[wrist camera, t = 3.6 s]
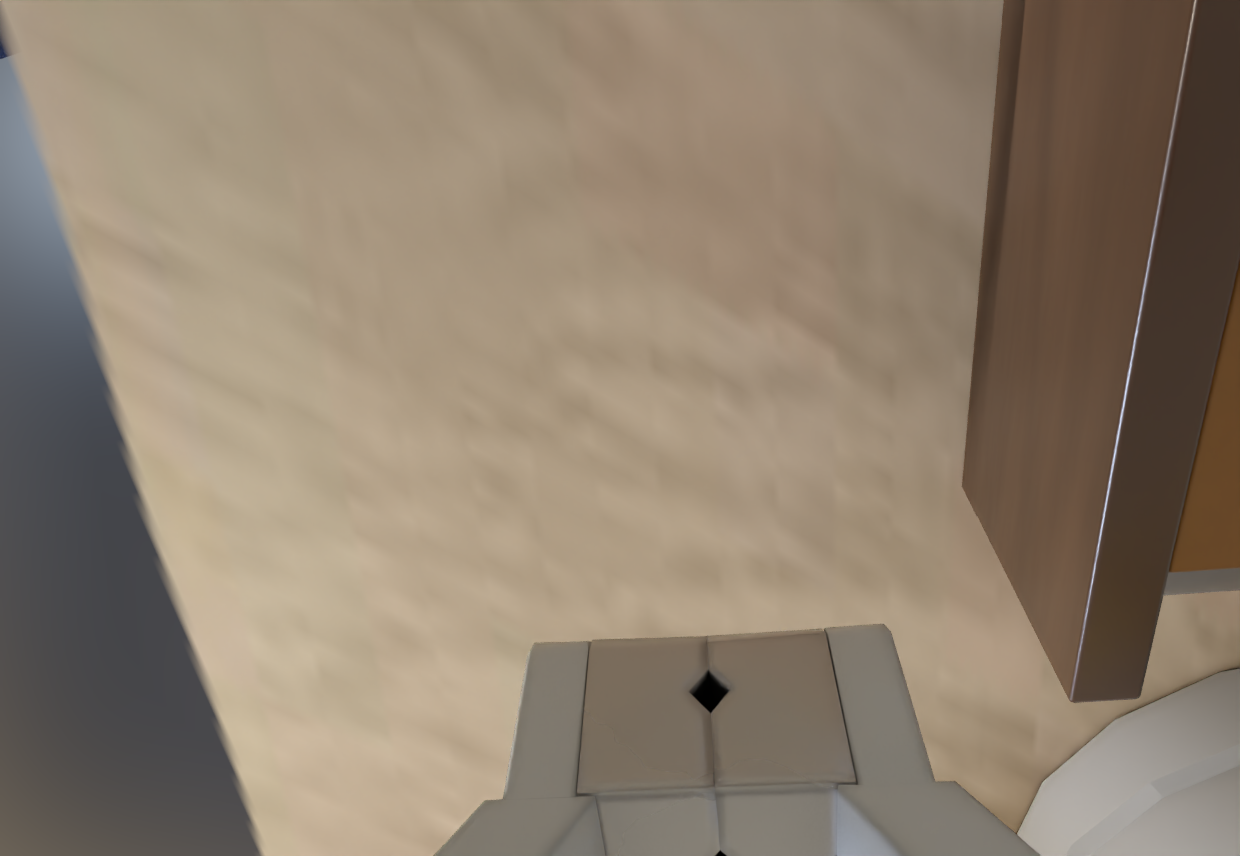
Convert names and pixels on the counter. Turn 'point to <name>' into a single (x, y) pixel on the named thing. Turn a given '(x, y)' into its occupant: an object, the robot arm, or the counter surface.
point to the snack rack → (1110, 324)
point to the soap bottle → (1150, 782)
